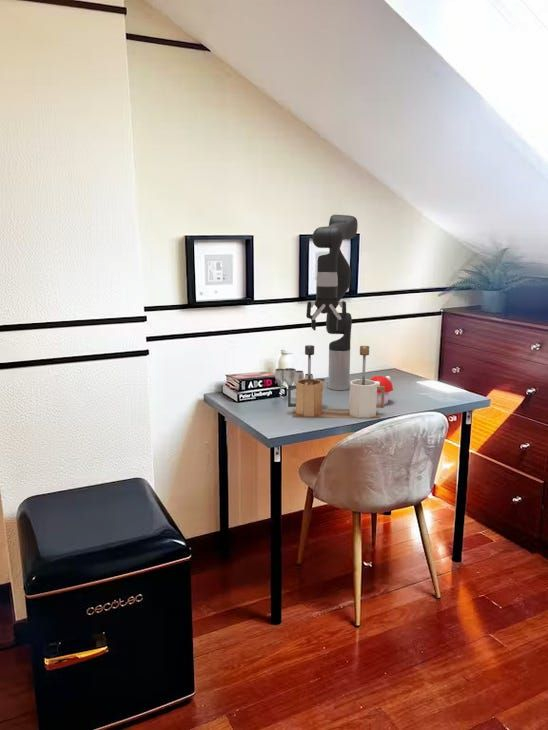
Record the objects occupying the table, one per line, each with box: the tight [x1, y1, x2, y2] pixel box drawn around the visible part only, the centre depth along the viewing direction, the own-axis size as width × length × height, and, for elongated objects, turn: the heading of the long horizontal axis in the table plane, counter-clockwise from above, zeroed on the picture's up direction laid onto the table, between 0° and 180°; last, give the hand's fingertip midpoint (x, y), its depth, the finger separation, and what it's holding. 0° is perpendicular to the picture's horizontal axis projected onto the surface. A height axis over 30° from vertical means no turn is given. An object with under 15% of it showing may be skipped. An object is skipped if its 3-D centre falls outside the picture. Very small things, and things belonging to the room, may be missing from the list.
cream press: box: [348, 378, 385, 419], centre depth 229 cm, size 10×13×12 cm
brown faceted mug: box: [287, 378, 323, 417], centre depth 229 cm, size 10×13×12 cm
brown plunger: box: [359, 345, 370, 385], centre depth 226 cm, size 7×7×16 cm
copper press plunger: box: [304, 344, 315, 385], centre depth 227 cm, size 7×7×16 cm
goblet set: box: [274, 367, 328, 399], centre depth 246 cm, size 28×6×13 cm, turn 40°
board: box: [292, 408, 381, 419], centre depth 230 cm, size 11×32×1 cm, turn 88°
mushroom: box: [369, 375, 394, 405], centre depth 244 cm, size 11×11×12 cm
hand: (326, 330), depth 223 cm, fingers open, 8 cm apart
